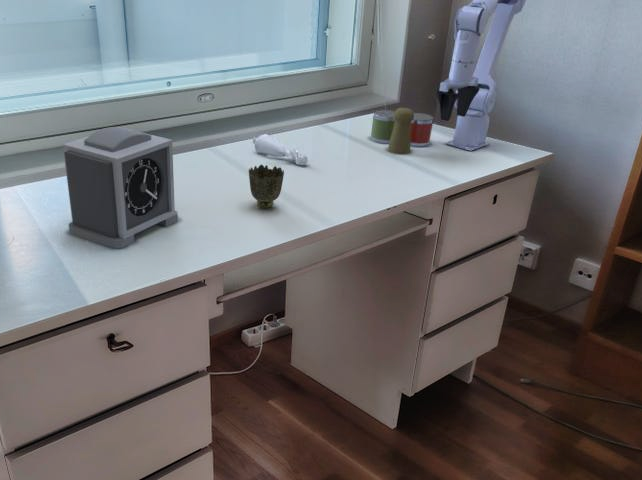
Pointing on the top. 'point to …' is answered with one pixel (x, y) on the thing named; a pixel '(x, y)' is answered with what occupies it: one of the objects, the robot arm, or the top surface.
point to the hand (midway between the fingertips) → (452, 117)
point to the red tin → (421, 129)
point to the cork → (401, 131)
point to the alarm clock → (119, 185)
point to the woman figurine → (277, 150)
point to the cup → (265, 184)
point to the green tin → (382, 126)
